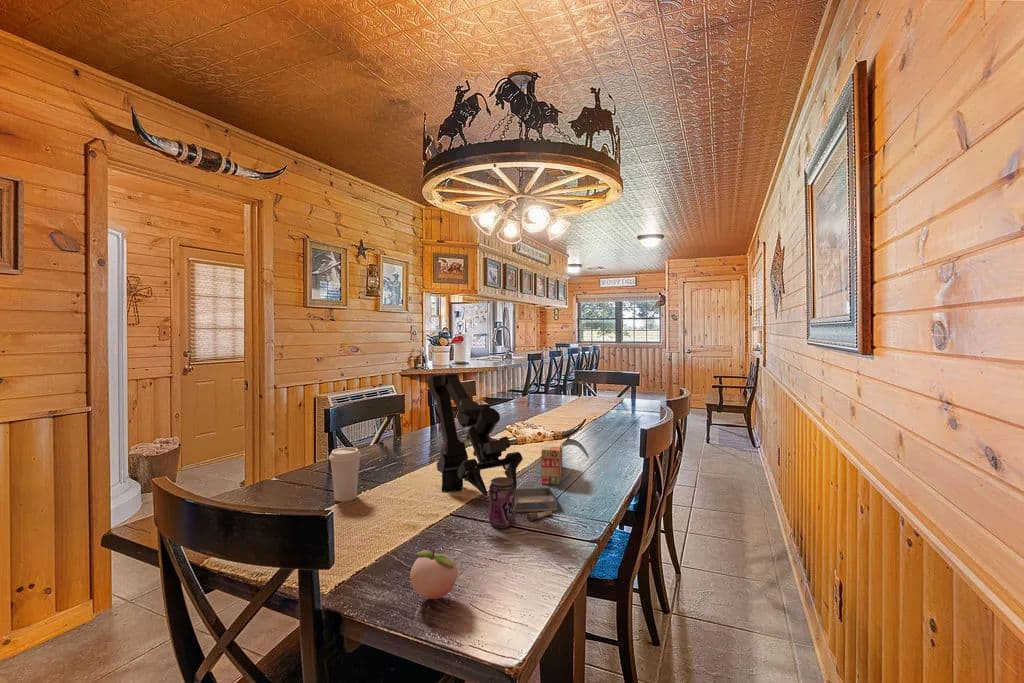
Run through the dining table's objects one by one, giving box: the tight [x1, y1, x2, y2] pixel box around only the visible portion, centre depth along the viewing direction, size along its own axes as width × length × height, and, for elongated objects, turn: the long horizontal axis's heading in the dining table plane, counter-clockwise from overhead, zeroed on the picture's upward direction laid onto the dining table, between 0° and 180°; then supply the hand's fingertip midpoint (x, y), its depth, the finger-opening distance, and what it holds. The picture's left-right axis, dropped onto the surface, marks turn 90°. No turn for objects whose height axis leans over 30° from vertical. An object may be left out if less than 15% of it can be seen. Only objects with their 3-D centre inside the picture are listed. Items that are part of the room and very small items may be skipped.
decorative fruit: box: [409, 549, 458, 600], centre depth 93 cm, size 9×8×10 cm
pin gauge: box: [526, 510, 553, 522], centre depth 133 cm, size 8×2×2 cm, turn 127°
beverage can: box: [488, 476, 516, 529], centre depth 128 cm, size 7×7×12 cm
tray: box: [515, 487, 559, 513], centre depth 144 cm, size 12×12×2 cm
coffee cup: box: [328, 446, 362, 503], centre depth 148 cm, size 10×10×15 cm
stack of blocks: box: [540, 440, 563, 486], centre depth 171 cm, size 21×6×12 cm, turn 171°
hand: (501, 492), depth 129 cm, fingers open, 9 cm apart
